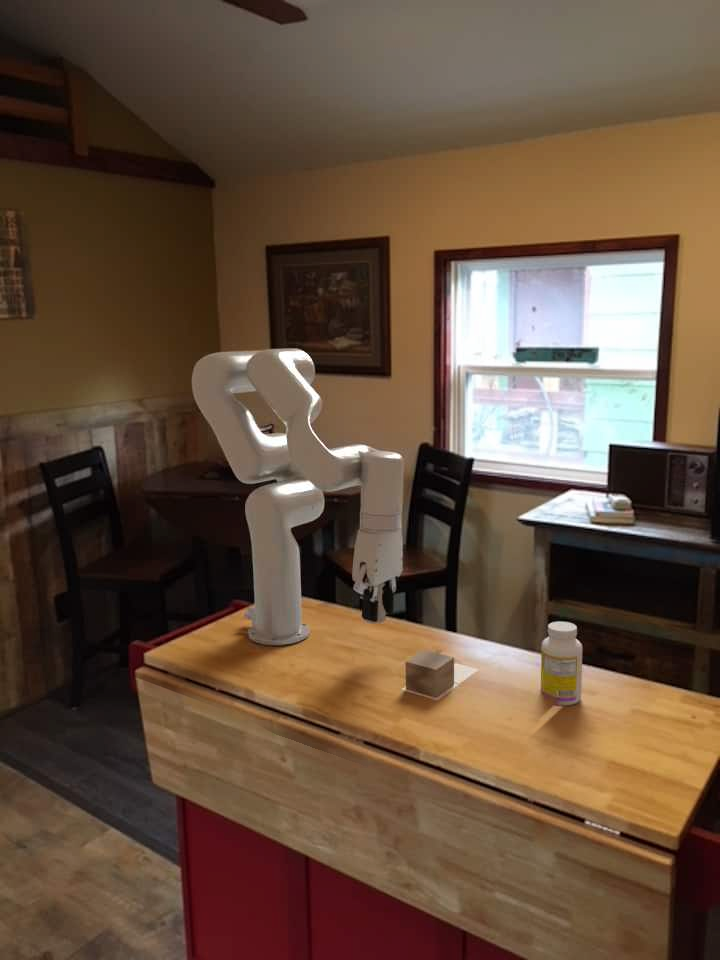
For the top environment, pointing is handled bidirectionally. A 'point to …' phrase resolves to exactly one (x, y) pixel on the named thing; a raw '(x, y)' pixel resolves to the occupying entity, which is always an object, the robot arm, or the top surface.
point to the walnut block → (429, 673)
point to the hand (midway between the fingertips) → (377, 614)
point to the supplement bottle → (561, 664)
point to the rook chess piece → (379, 605)
